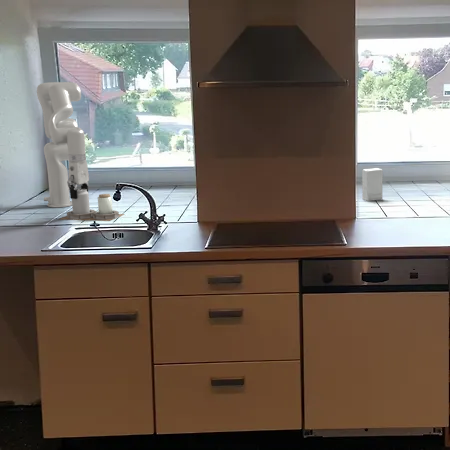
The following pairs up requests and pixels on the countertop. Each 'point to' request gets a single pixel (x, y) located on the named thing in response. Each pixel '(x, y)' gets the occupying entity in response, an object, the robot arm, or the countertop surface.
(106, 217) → the stand
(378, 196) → the skincare box
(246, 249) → the countertop surface
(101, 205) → the jar
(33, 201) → the countertop surface
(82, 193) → the can
